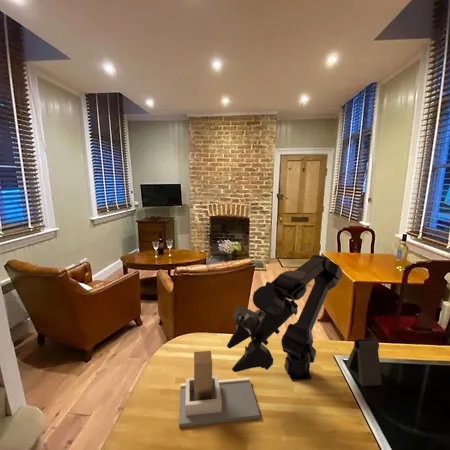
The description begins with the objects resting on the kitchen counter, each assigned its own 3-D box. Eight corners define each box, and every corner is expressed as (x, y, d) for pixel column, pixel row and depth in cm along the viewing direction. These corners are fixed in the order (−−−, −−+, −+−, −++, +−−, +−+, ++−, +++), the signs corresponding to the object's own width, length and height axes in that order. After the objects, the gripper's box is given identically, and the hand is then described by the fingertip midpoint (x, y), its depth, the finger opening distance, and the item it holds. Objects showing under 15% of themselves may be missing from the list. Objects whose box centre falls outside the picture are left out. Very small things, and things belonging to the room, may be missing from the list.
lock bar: (210, 391, 72) (210, 350, 70) (211, 405, 67) (212, 362, 65) (194, 392, 71) (193, 351, 69) (194, 406, 67) (194, 363, 65)
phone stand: (381, 385, 76) (386, 348, 74) (362, 386, 76) (367, 349, 74) (363, 364, 85) (367, 331, 83) (345, 365, 84) (349, 331, 82)
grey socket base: (248, 381, 77) (249, 369, 76) (259, 418, 65) (260, 404, 64) (180, 388, 74) (180, 375, 73) (179, 427, 62) (178, 413, 62)
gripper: (244, 283, 75) (206, 320, 76) (261, 317, 57) (211, 365, 58) (269, 307, 78) (232, 343, 78) (293, 346, 60) (245, 393, 60)
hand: (230, 358), depth 69 cm, fingers open, 9 cm apart
